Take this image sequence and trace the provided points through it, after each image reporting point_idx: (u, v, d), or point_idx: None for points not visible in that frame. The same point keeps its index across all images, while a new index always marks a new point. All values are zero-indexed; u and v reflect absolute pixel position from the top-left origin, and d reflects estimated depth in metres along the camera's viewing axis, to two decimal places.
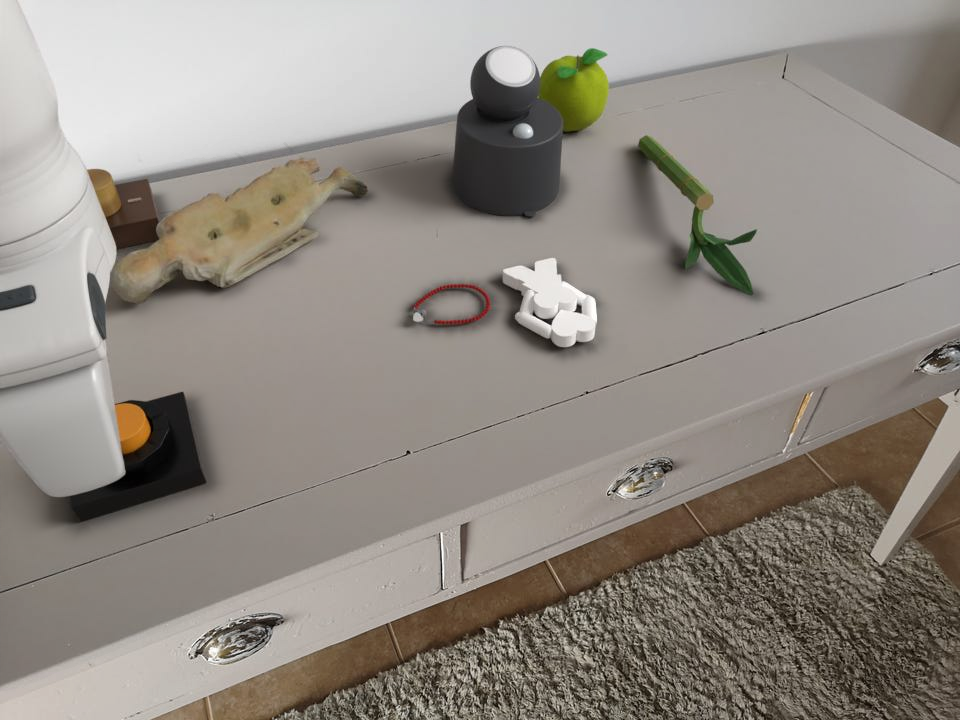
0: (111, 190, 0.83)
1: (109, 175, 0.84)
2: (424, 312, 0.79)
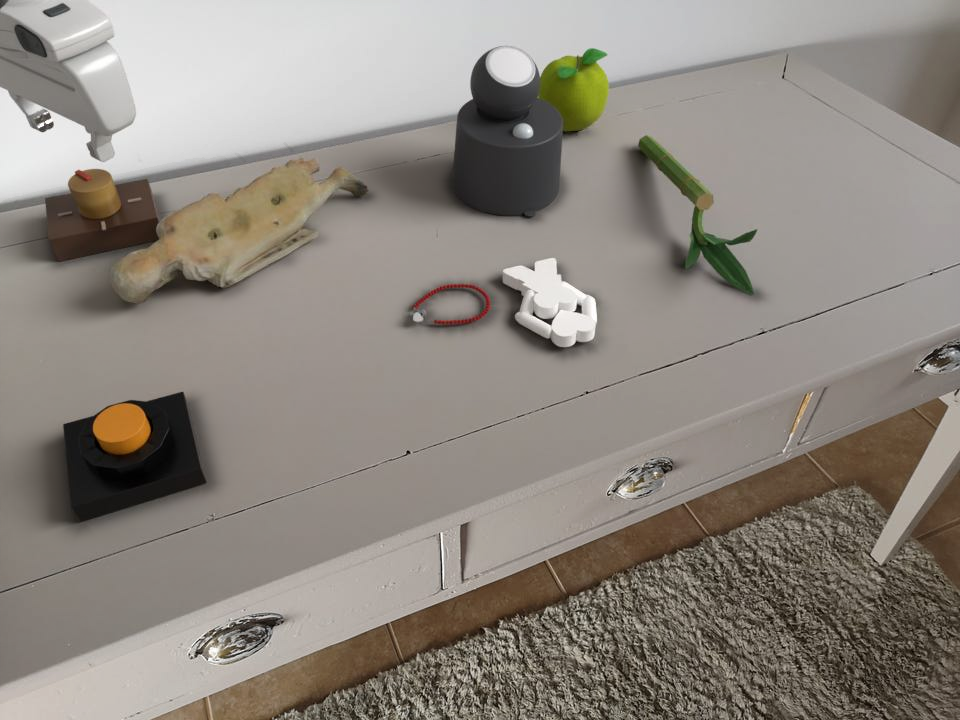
0: (111, 190, 0.83)
1: (109, 175, 0.84)
2: (424, 312, 0.79)
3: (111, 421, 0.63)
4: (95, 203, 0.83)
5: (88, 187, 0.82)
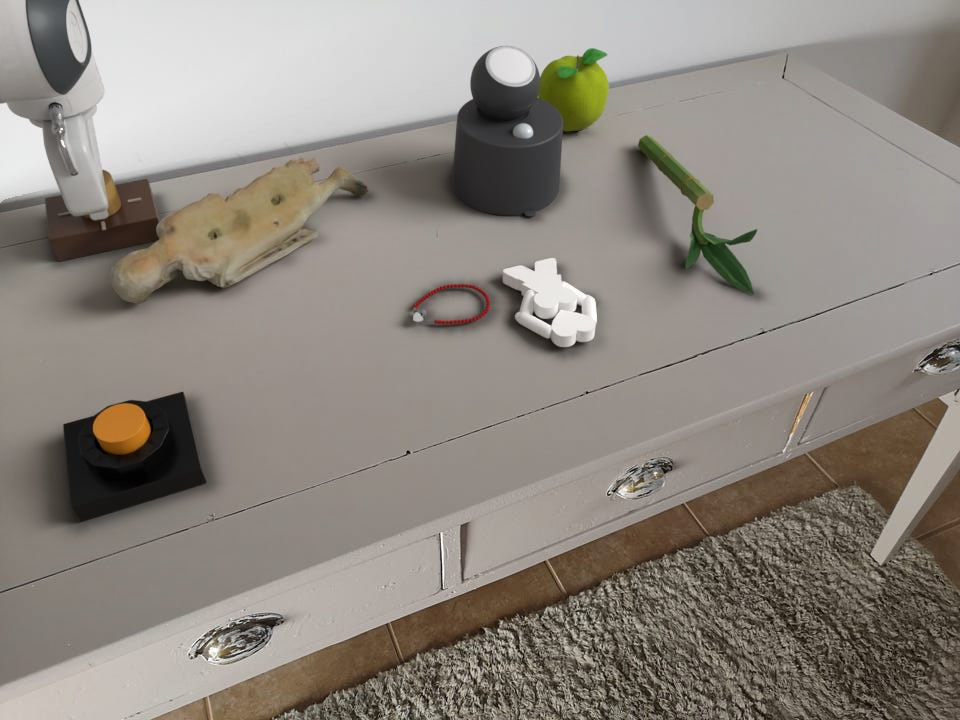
0: (111, 190, 0.84)
1: (109, 175, 0.84)
2: (424, 312, 0.79)
3: (111, 421, 0.63)
4: None
5: None
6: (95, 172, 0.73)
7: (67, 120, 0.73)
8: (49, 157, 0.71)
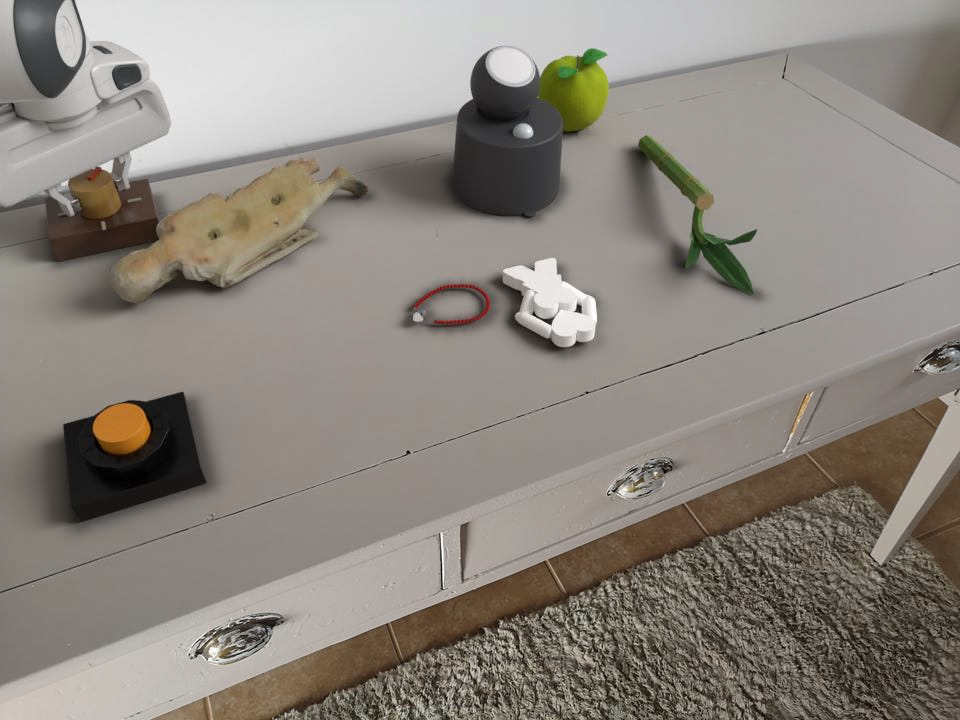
0: (92, 199, 0.82)
1: (102, 186, 0.82)
2: (424, 312, 0.79)
3: (111, 421, 0.63)
4: None
5: (76, 185, 0.82)
6: None
7: (16, 118, 0.73)
8: None
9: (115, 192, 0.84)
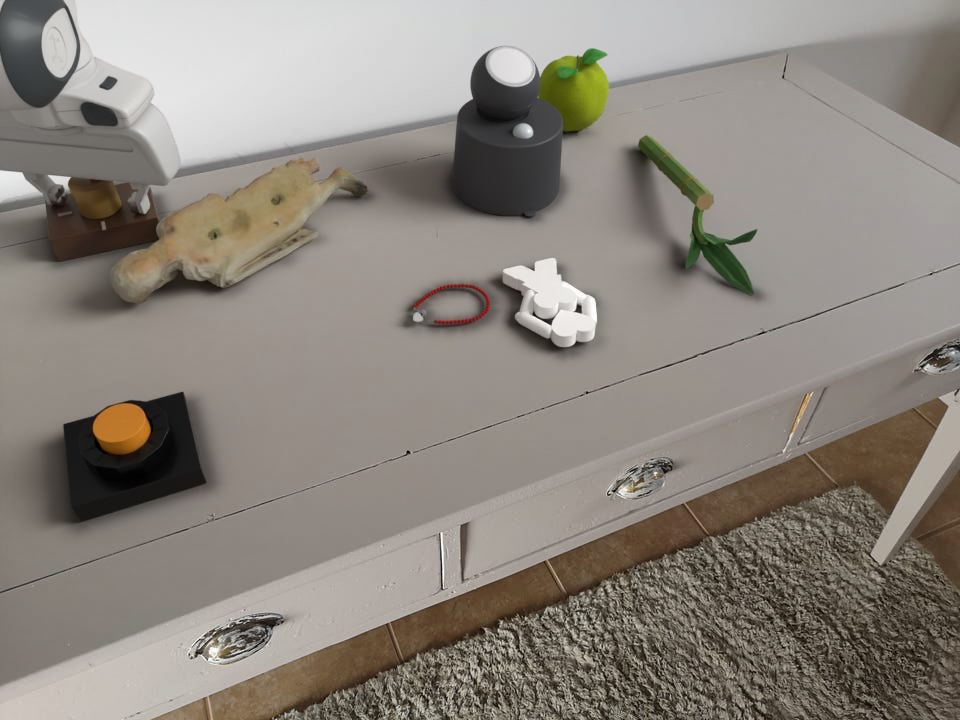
0: (73, 196, 0.83)
1: (82, 191, 0.82)
2: (424, 312, 0.79)
3: (111, 421, 0.63)
4: None
5: None
6: None
7: None
8: None
9: (100, 202, 0.83)
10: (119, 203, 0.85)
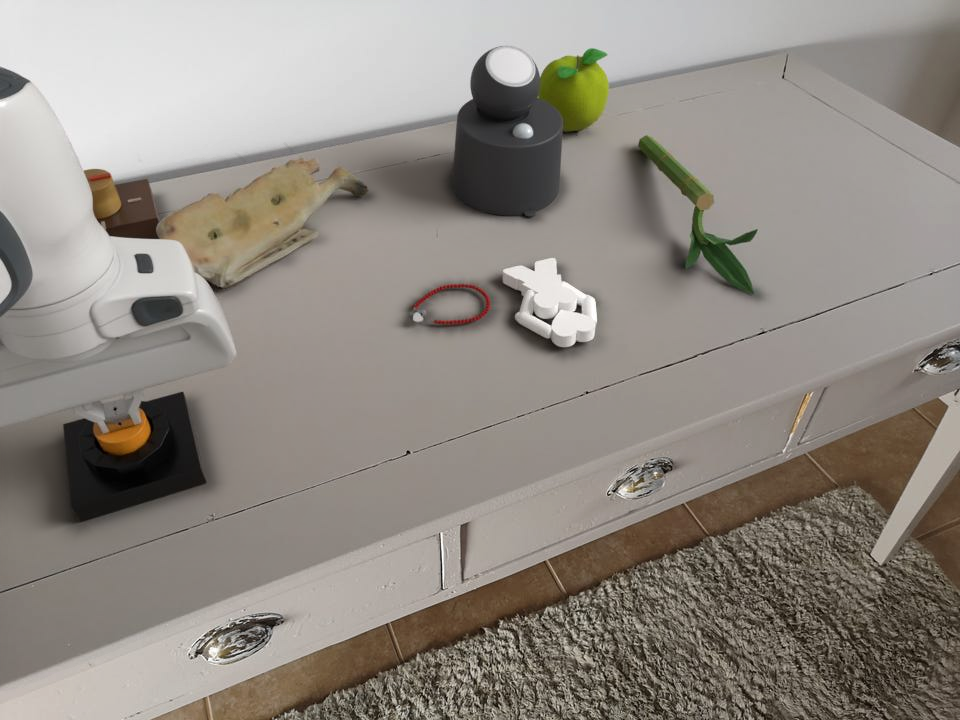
0: None
1: None
2: (424, 312, 0.79)
3: None
4: None
5: None
6: None
7: None
8: None
9: (100, 202, 0.83)
10: (119, 203, 0.85)
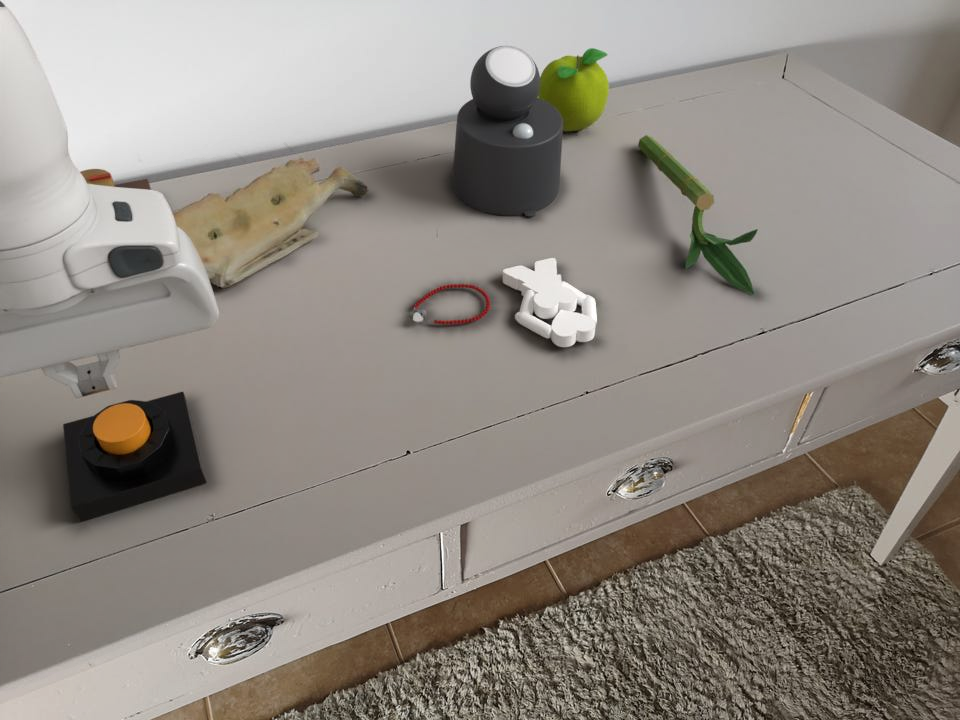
0: None
1: None
2: (424, 312, 0.79)
3: (111, 421, 0.63)
4: None
5: None
6: None
7: None
8: None
9: None
10: None
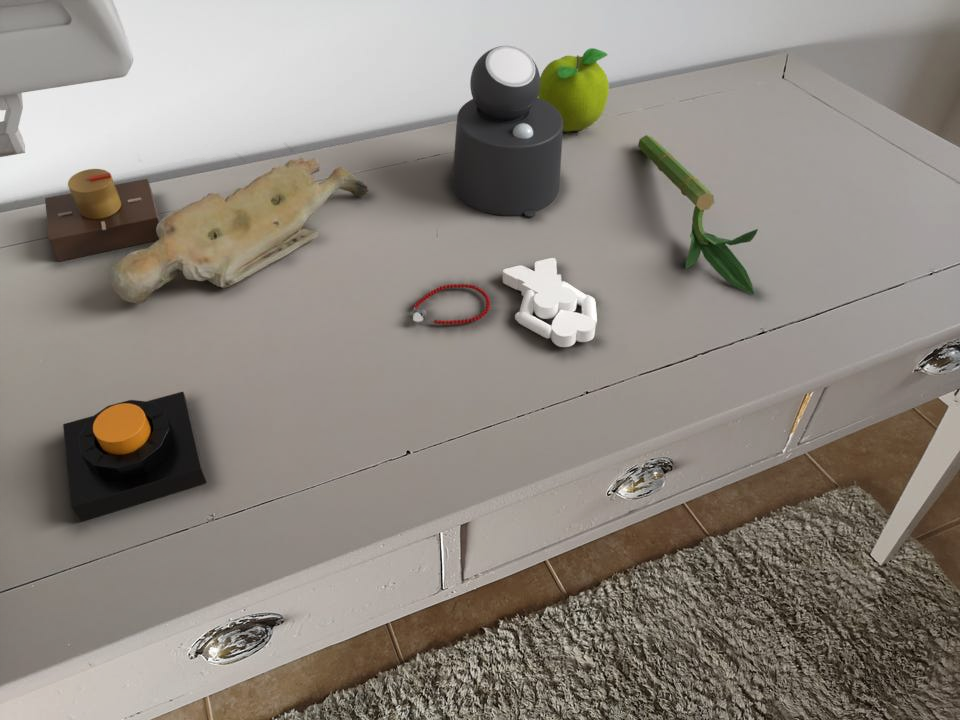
0: (73, 196, 0.83)
1: (82, 191, 0.82)
2: (424, 312, 0.79)
3: (111, 421, 0.63)
4: None
5: (78, 177, 0.83)
6: None
7: None
8: None
9: (100, 202, 0.83)
10: (119, 203, 0.85)
